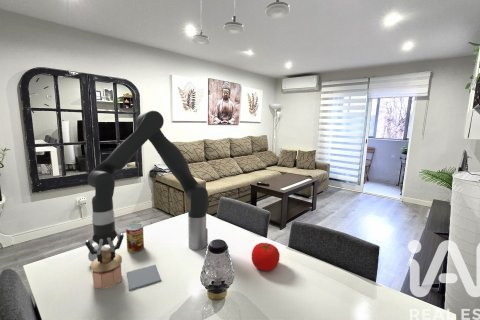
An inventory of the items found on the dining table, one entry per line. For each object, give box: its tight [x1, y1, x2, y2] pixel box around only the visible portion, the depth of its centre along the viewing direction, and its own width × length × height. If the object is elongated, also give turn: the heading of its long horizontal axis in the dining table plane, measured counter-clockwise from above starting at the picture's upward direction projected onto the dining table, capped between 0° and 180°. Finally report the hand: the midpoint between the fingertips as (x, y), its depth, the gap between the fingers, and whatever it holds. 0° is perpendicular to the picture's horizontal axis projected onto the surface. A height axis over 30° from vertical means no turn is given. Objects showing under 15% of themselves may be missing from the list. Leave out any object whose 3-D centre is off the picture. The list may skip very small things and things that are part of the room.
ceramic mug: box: [87, 244, 117, 263], centre depth 110 cm, size 11×8×8 cm
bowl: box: [92, 263, 123, 290], centre depth 97 cm, size 10×10×6 cm
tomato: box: [251, 242, 281, 272], centre depth 109 cm, size 14×13×10 cm
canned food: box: [125, 222, 145, 254], centre depth 121 cm, size 8×8×12 cm
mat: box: [126, 264, 162, 291], centre depth 100 cm, size 12×12×1 cm
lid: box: [90, 246, 123, 272], centre depth 96 cm, size 11×11×6 cm
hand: (106, 260), depth 96 cm, fingers closed on lid, 3 cm apart
